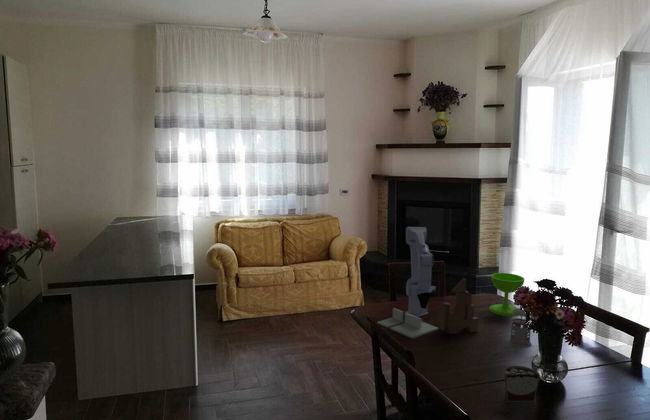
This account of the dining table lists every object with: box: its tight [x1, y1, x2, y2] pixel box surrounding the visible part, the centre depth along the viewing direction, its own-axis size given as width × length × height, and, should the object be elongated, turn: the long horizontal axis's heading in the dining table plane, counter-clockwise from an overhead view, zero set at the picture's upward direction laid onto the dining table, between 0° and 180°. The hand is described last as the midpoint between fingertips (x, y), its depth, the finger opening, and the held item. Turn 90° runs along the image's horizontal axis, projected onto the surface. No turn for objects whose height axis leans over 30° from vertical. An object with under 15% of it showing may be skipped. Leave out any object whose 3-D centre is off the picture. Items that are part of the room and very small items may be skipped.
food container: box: [502, 365, 542, 403], centre depth 163 cm, size 12×6×10 cm, turn 92°
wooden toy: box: [440, 277, 479, 335], centre depth 219 cm, size 16×7×25 cm, turn 104°
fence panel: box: [405, 313, 423, 329], centre depth 222 cm, size 9×1×4 cm, turn 38°
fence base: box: [391, 307, 406, 323], centre depth 229 cm, size 1×8×5 cm, turn 38°
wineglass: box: [488, 272, 525, 317], centre depth 247 cm, size 16×16×18 cm
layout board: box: [376, 317, 439, 340], centre depth 224 cm, size 18×22×1 cm
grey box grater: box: [507, 307, 533, 349], centre depth 207 cm, size 10×12×25 cm
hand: (423, 307), depth 223 cm, fingers closed
